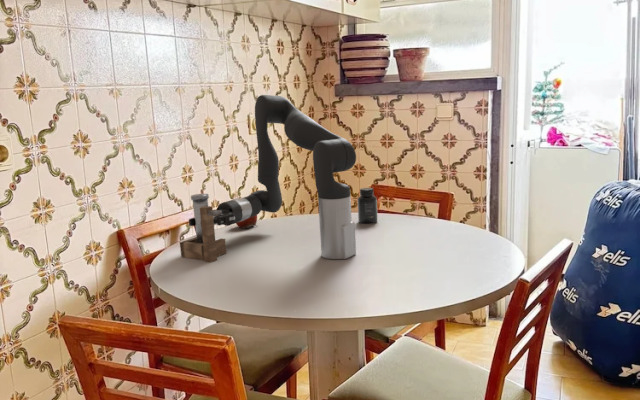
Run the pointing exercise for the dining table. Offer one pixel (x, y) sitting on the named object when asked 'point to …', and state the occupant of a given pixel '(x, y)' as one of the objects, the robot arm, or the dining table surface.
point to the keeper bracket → (205, 239)
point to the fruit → (248, 222)
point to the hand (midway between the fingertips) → (195, 223)
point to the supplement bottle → (367, 206)
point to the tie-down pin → (198, 202)
